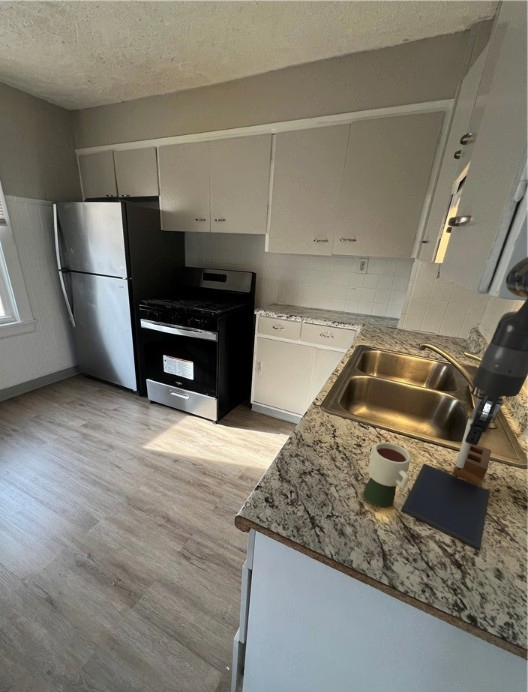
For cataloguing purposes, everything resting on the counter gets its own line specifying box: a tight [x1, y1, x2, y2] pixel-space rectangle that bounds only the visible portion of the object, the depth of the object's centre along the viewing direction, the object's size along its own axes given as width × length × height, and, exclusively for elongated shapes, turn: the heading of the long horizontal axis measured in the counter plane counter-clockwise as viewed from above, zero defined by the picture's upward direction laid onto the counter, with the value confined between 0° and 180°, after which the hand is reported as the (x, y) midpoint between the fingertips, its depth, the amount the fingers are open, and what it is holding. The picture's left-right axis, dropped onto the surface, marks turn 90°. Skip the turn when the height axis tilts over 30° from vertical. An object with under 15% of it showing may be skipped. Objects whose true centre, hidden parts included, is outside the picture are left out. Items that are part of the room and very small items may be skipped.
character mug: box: [363, 441, 412, 508], centre depth 67 cm, size 11×7×13 cm, turn 14°
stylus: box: [455, 417, 473, 470], centre depth 69 cm, size 1×1×13 cm
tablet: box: [400, 463, 491, 551], centre depth 70 cm, size 20×14×1 cm
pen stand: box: [451, 444, 492, 486], centre depth 79 cm, size 10×6×5 cm, turn 140°
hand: (471, 440), depth 68 cm, fingers closed on stylus, 1 cm apart
